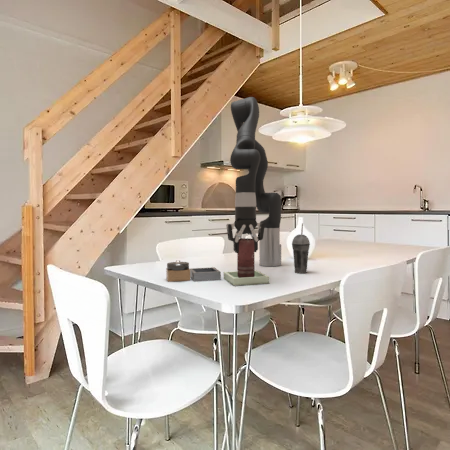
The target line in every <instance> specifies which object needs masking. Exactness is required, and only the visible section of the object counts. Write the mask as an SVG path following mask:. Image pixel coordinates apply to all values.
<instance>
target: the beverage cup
mask: <svg viewBox="0 0 450 450" xmlns="http://www.w3.org/2000/svg"><path fill="white" fill-rule="evenodd" d="M300 230H301V233H300V234H296V235H295V236H294V237H293V239H292V241H291V245H292V246H291V247H292V252H293V253H292V254H293V265H294V272H295V274H296V273H297V274H307V269H308V262H309V261H308V260H309V250H310V247H311V246H310V245H311V243H310V239H309V238H308V237H307V236H306V235H305V234H303V231H304V223H301V229H300Z"/></svg>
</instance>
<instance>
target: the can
mask: <svg viewBox="0 0 450 450" xmlns="http://www.w3.org/2000/svg"><path fill="white" fill-rule="evenodd" d="M238 243H239V253H236V254H237V255H236V256H237V257H236V258H237V259H236V260H237V270H236V271H238V278H244V277H254V276H255V265H256V264H255V252H254V240H253V239H252V238H244V237H243V238H241V237H240V238H239V240H238Z"/></svg>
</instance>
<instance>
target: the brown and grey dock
mask: <svg viewBox="0 0 450 450" xmlns="http://www.w3.org/2000/svg"><path fill="white" fill-rule="evenodd" d="M165 272H166V274H165V275H166V280H167V282H170V283H171V282H187V281H191V280H192V281H193V282H204V281H205V282H207V281H221V279H222V273H221V272H222V271H220V270H219V269H217V268H216V267H213V266H212V267H196V268H190V262H188V261H181V260H175V261H171V262H167V263H166V268H165Z"/></svg>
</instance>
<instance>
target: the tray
mask: <svg viewBox="0 0 450 450" xmlns="http://www.w3.org/2000/svg"><path fill="white" fill-rule="evenodd" d="M223 280H224V281H226V282H227V283H228V284H230V285H231V286H233V287H238V286H240V287H241V286H254V285H269V284H270V276H269V275H267V274H265V273H262V272H261V271H259V270H255V276H254V277H244V278H238V270H235V271H224V272H223Z"/></svg>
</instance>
